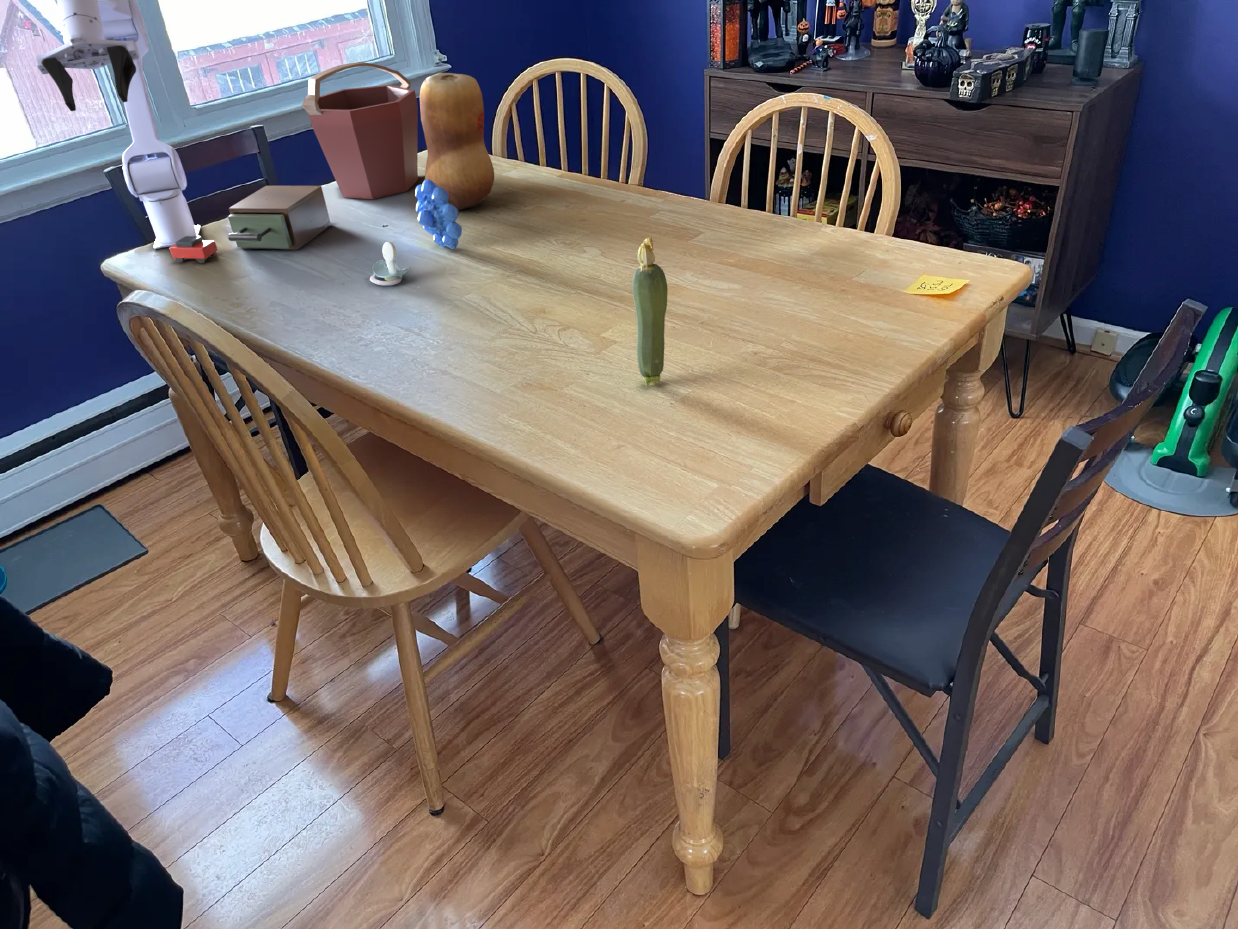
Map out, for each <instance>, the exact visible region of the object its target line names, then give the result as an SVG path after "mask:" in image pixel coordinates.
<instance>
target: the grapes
mask: <svg viewBox="0 0 1238 929" xmlns="http://www.w3.org/2000/svg"><path fill="white" fill-rule="evenodd" d="M414 191H415V194H414V195H415V198H416V199H417V202H416V203H415V211H416V212H417V214H418V216H417V222H418V223H419V225H420V226H422V227H423V230H424V231H425V232H426V233H428V234H429V235H433V242H434V243H435V244H436V245H438V246H439V247H442V248H445V247H447V248H449V249H451V250H454V249H456V248H457V247H458V246H459V239H460V238H461V237H462V234H463V226H461V224H460V223H458V222H457V220H458V218H459V210H458V209H457V208H456V207H455V206H453V205H452V204H449V203H447V202H448V198H449V197H448V193H447V191H446V190H444V189H443V188H441V187H438V186H437V185H436V184H435V183H434V182H433V181H431V180H428V179H427V180H425V179H424V180H423V182H422V184H418V185H417V186H416V187H415V190H414Z"/></svg>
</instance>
